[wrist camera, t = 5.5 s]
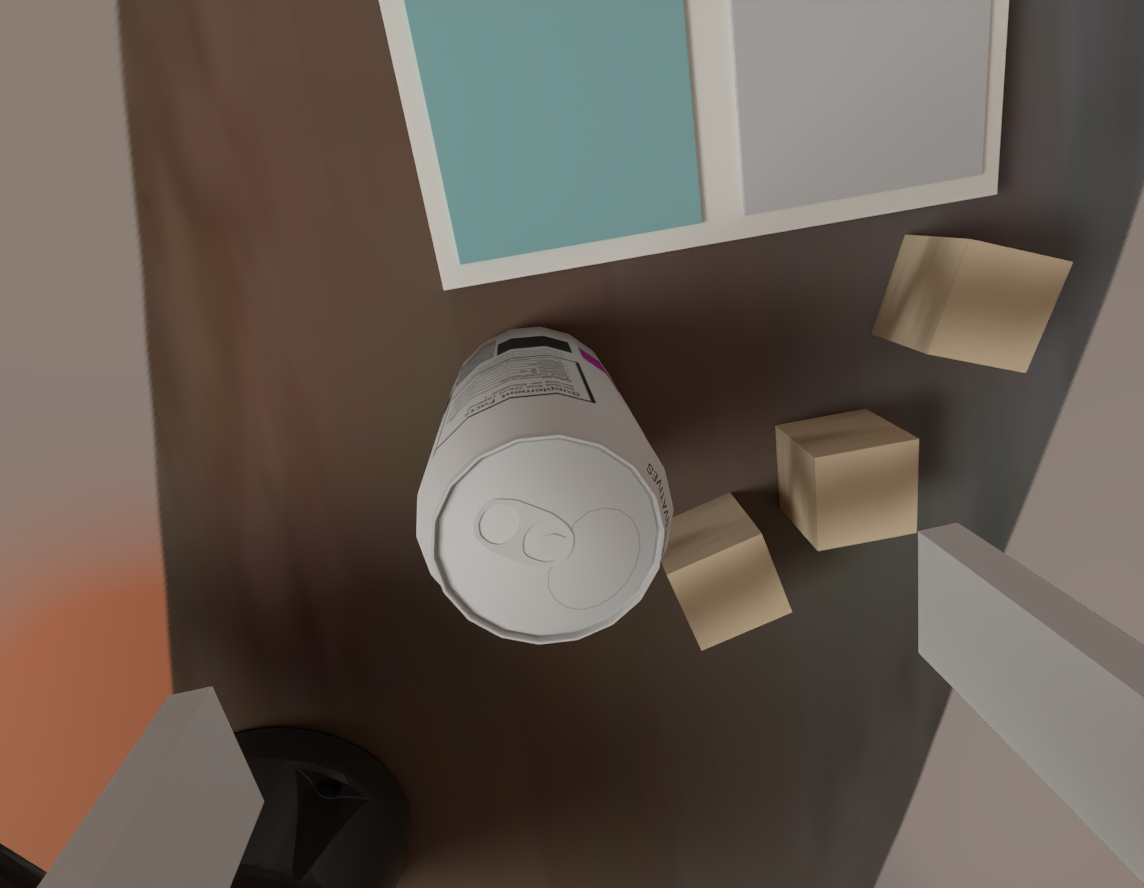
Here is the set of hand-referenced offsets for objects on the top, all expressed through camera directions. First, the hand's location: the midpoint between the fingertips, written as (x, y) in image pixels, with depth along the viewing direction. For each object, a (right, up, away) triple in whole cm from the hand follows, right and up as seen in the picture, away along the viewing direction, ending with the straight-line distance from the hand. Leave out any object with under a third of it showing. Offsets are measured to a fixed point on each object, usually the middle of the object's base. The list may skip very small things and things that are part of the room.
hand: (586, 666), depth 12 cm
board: (+5, +21, +17) cm, 27 cm away
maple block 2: (+13, +3, +24) cm, 28 cm away
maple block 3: (+18, +12, +21) cm, 30 cm away
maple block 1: (+7, -2, +25) cm, 26 cm away
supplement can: (-2, +6, +22) cm, 23 cm away
